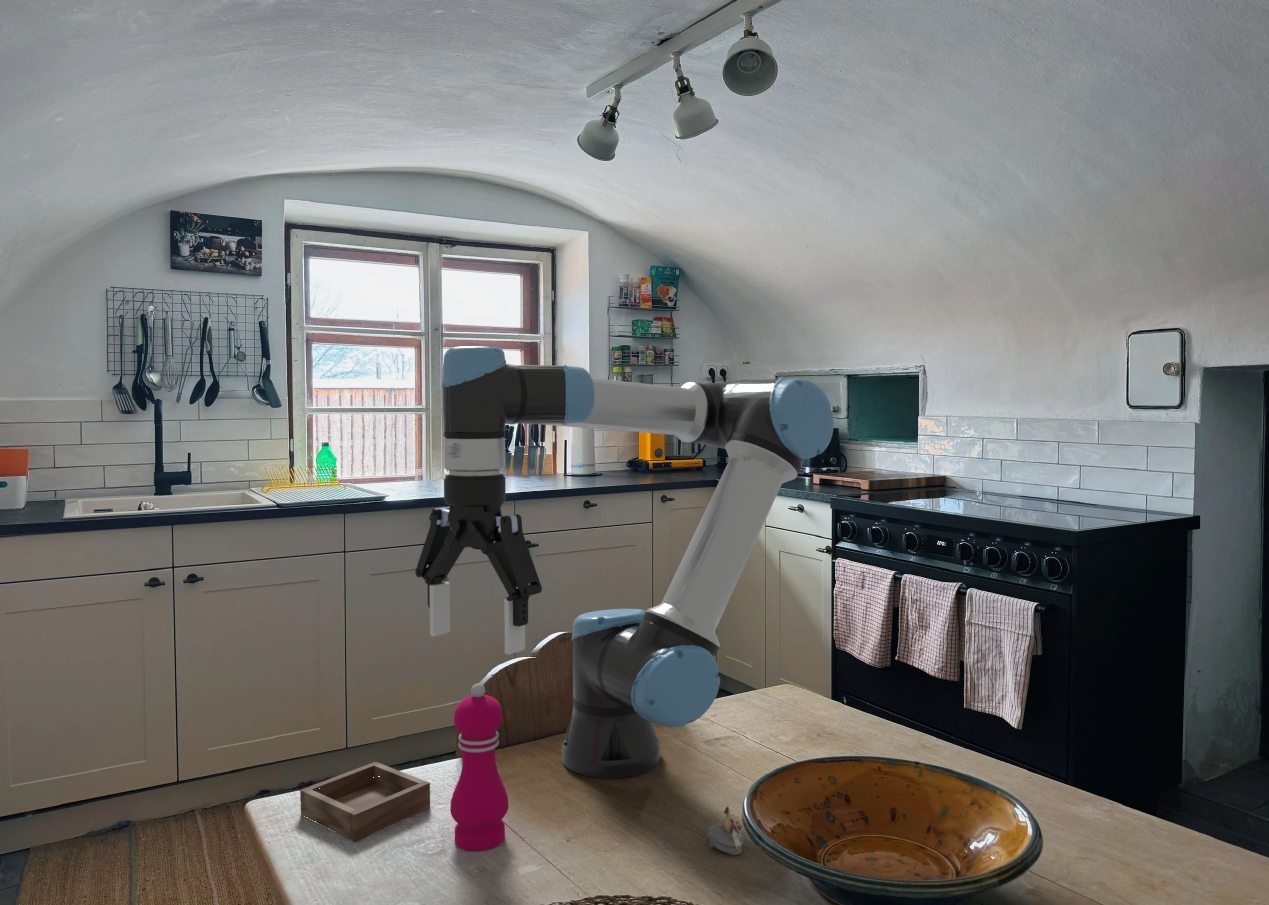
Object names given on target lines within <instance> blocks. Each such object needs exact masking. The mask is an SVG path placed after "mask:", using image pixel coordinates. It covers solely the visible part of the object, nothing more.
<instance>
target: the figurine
mask: <svg viewBox="0 0 1269 905" xmlns="http://www.w3.org/2000/svg"><path fill="white" fill-rule="evenodd" d="M723 813H724V815H725V818H724V820H723V822H718V823H715V824H712V825H710V826H709V827H707V833H706V837H705V838H706V839H707V840H708V841H709V843H708V844H709V847H710V848H711V849H713V848H715V849H717V850H718V851H722V852H723V853H726V854H728V855H731V856H737V855H740V854H742V852H743V851H742V850H743V849H742V847H743V846H744V843H745V840H744V836H743V835H742V831H741V829H742V825H741V823H740V820H739V816H738V815H737V816H736V817H735V815H734V814H731V810H730V807H729V806H726V807H725V809H724V812H723Z"/></svg>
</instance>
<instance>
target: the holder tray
mask: <svg viewBox="0 0 1269 905" xmlns="http://www.w3.org/2000/svg"><path fill="white" fill-rule="evenodd" d="M378 776H380V777H378ZM373 777H374V778H373ZM319 788H320V789H319ZM299 792H300V793H299V794H300V800H299V801H300V816H301V815H303V816H305V817H308V818H309V819H311V820H313V821H316V822H317V823H319V824H321V825H323V826H325V827H327V828H329V829H331V830H333V831H335V832H336V834H337V833H338V835H339V834H340V835H339V836H341V837H343V838H346V839H348V840H350V841H352V842H353V843H357V842H358V841H361V840H363V839H365V838H368V837H369V836H371V835H373V834H374V835H375V834H376V833H378V832H380V831H383V830H385V829H386V828H389V827H391V825H392V826H393V824H394V825H396V824H398V823H400V822H402V820H403V821H405V820H406V819H409V818H411V817H413V816H416V815H418V814H420V813H423V812H425V811H427V810H429V809H431V783H430V782H428V781H426V780H424V779H422V778H419V777H416V776H413V775H411V774H410V773H409V774H408V773H406V772H403V771H400V770H398V769H395V768H393V767H390V766H388V765H385V764H383V763H380V762H377V761H373V762H371V763H368V764H366V765H363V766H361V767H357V768H355V769H352V770H350V771H347V772H345V773H342V774H339V775H336V776H333V777H332V778H329V779H326V780H324V781H321V782H317V783H316V784H312V785H310V786H308V787H305V788H301V789H300V791H299ZM303 816H302V817H303ZM305 817H304V818H305ZM309 819H308V820H309ZM311 820H310V821H311ZM313 821H312V822H313ZM317 823H316V824H317ZM319 824H318V825H319ZM321 825H320V826H321ZM323 826H322V827H323ZM325 827H324V828H325ZM327 828H326V829H327ZM329 829H328V830H329ZM331 830H330V831H331ZM333 831H332V832H333ZM335 832H334V833H335Z"/></svg>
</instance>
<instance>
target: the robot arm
mask: <svg viewBox="0 0 1269 905" xmlns="http://www.w3.org/2000/svg"><path fill="white" fill-rule="evenodd" d="M441 380H442V381H441V388H442V410H443V411H442V412H443V418H442V419H443V469H444V470H445V471H448V474H446V475H445V477H443V503H445V504H446V505H447V507H438V508H437V507H436V508H433V509H432V510H431V512H430V526H429V528H428V532H427V535H426V538H425V541H424V544H423V546H422V549H421V550H422V551H421V553H420V556H419V560H418V562H417V566H416V568H415V571H414V572H415V576H416V578H422V579H423V580H424V583H425V584H426V585H427V607H428V609H429V636H431V637H437V636H441V635H446V634H449V633H451V593H450V592H451V588H450V585H451V584H450V582H447V581H448V580H450V578H449V577H448V575H449V573H451V570H452V569H453V567H454V566H455V564H456V562H457V560H459V558H460V555H461V554H462V552H463V551H464V549H465V548H466V549H467V548H471V549H472V550H480V551H481V553H482V554H484V555H486V556H487V558H488V560H489V562H490V564H491V566H492V567H493V569H494V572H495V573H496V574H497V576H498V578H499V580H500V582H501V584H502V585H503V587H504V589H505V591H506V593H507V594H508V596H507V597H506V598H505V599H504V603H503V604H504V606H503V607H504V610H503V611H504V613H503V614H504V616H503V617H504V654H505V655H513V654H515V653H520V652H522V651H525V650H526V625H527V624H528V623H529V598H530V597H531V596H534V595H537V594H540V593H542V591H543V587H542V584H541V581H540V579H539V575H538V572H537V568H536V566H535V564H534V560H533V558H532V555H531V553H530V550H529V547H528V544H527V541H526V538H525V535H524V533H523V520H522V516H521V515H520V514H519V513H517V514H516V513H515V514H509V515H503V514H502V509H501V507H502V506H503V504H504V503H505V502H506V498H507V497H506V496H507V495H506V488H507V487H506V476H505V475H504V473H501V472H502V471H504V470H505V469H506V465H507V464H506V462H507V461H506V424H507V425H516V424H518V425H519V424H527V425H542V426H543V425H546V426H558V427H569V428H580V429H581V428H582V429H592V430H593V429H594V430H595V429H596V430H606V431H608V430H609V431H620V432H621V431H622V432H632V433H633V432H634V433H647V434H656V435H657V434H660V435H669V436H670V435H671V436H676V438H677V439H678V440H680V441H681V442H684V443H693V444H700V445H701V444H702V445H705V446H710V447H713V448H714V447H715V448H719V449H722V450H723V449H725V451H726V453H727V456H728V463H727V464H726V467H725V469H724V470H723V473H722V474H721V477H720V480H719V481H718V483H717V485H716V487H715V489H714V492H713V493H712V496H711V497H710V501H709V503H708V504H707V506H706V508H705V510H704V513H703V514H702V517H701V519H700V520H699V522H698V523H699V524H698V526H697V527H696V530H695V532H694V534H693V536H692V538H691V540H690V542H689V544H688V546H687V549H686V551H685V552H684V555H683V557H682V559H681V562H680V563H679V566H678V568H677V570H676V572H675V573H674V576H673V578H672V580H671V582H670V585H669V587H668V589H667V590H666V593H665V595H664V597H663V599H662V601H661V603H660V604H658V605H656V606H653V607H650V608H647V609H646V610H644V609H641V608H613V609H603V610H602V609H601V610H594V611H589V612H585V613H582V614H580V615H578V616H577V617H575V619H574V621H573V623H572V632H571V633H572V634H571V642H572V698H573V699H572V700H573V704H572V705H573V706H572V713H571V717H570V719H569V723H568V726H567V729H566V733H565V736H564V739H563V742H562V747H561V760H562V764H563V765H564V766H565V767H566V768H567V769H568V770H569V771H572V772H573V773H577V774H578V775H583V776H586V777H591V778H592V777H593V778H599V779H618V778H619V779H620V778H621V779H622V778H628V777H633V776H637V775H641V774H644V773H647V772H649V771H651V770H653V769H654V768H655V767H657V765H658V764H659V763H660V760H661V745H660V741H659V739H658V737H657V734H656V730H655V727H654V724H657V725H659V726H662V727H667V728H680V727H681V728H682V727H685V726H686V725H688V724H690V723H693V722H696V721H697V720H699V719H700V718H701V717H702V716H703V715H705V713H706V712H708V710H709V709H710V707H711V706H712V705H713V703H714V702H715V699H716V697H717V695H718V692H719V688H720V684H721V677H720V676H719V672H720V668H719V665H718V662H717V660H716V659H715V658H716V656H717V653H718V652H719V650H720V647H721V644H720V641H719V639H718V636H717V628H718V626H719V623H720V621H721V619H722V616H723V614H724V612H725V610H726V608H727V605H728V603H729V601H730V599H731V596H732V594H733V592H734V590H735V588H736V586H737V584H738V582H739V579H740V577H741V574H742V572H743V571H744V569H745V566H746V564H747V561H748V560H749V558H750V556H751V553H752V551H753V548H754V546H755V543H756V542H757V540H758V537H759V536H760V533H761V530H762V528H763V526H764V525H765V521H766V520H767V518H768V515H769V513H770V511H771V510H772V509H771V508H772V507H773V505H774V502H775V500H776V498H777V495H778V493H779V491H780V489H781V487H782V484H784V483H787V482H790V481H793V480H795V479H796V478H797V476H798V474H799V472H800V470H801V469H802V466H803V464H804V461H805V460H808V459H811V458H814V457H816V456H817V455H821V454H823V452H825V451H826V449H827V447H828V446H829V444H830V442H831V440H832V438H833V435H834V434H833V432H834V427H835V426H834V424H835V422H834V414H833V412H832V408H831V402H830V400H829V399H828V395H827V394H826V393H825V392H824V390H822V388H821V387H820V386H819V385H817V384H816V383H814V382H812V381H811V380H809V379H804V378H793V377H789V376H786V377H781V378H777V379H775V378H773V379H771V378H770V379H741V380H731V381H722V382H710V383H709V382H708V383H707V382H706V383H702V382H701V383H700V382H692V381H690V382H686V383H684V384H683V385H681V386H680V387H678V386H669V385H660V384H651V383H640V382H631V381H624V380H623V381H622V380H616V379H615V380H613V379H606V378H605V379H604V378H595V377H592V376H591V374H590V373H589V371H588V370H586V369H585V368H584V367H581V366H572V365H566V364H561V365H550V364H548V365H547V364H546V365H545V364H541V365H537V364H534V365H533V364H527V365H526V364H523V365H522V364H521V365H520V364H517V365H516V364H512V363H507V360H506V355H505V352H504V350H503V349H502V348H500V347H491V346H454V347H451V348H449V349H447V350H446V352H445V353H444V355H443V364H442V377H441Z"/></svg>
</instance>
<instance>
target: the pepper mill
mask: <svg viewBox="0 0 1269 905" xmlns="http://www.w3.org/2000/svg"><path fill="white" fill-rule="evenodd" d="M470 693H471V695H469V696H466V697H464V698H463V699H462V700H461V701H460V702H459V703H458V704H457V706H456V708H455V710H454V714H453V719H454V726H455V728H456V729H457V731H458V732H459V733H460V734H459V735H458V737H457V738H458V741H459V742H458V748H459V749H460V750H461V754H462V764H461V765H462V766H461V770H460V775H459V778H458V781H457V783H456V785H455V787H454V789H453V793H452V795H451V796H452V797H451V799H450V807H449V808H450V815H451V817H452V819H453V820H454V821H455V822H456V824H455V826H454V843H455V845H456V846H457V847H459V848H460V849H462V850H464V851H470V852H481V851H482V852H484V851H488V850H491V849H494V848H497V847H498V846H499V845H501V844H502V843H503V842H504V840H505V837H506V830H505V829H506V825H505V821H504V820H503V818H505V817H506V814H507V813H508V811H509V799H508V798H509V797H508V794H507V793H508V792H507V789H506V787H505V785H504V782H503V779H502V778H501V776H500V774H499V770H498V768H497V764H496V761H497V760H496V748H498V747H499V744H500V741H499V736H500V734H499V732H498V731H497V730H498V729H499V728H500V726H501V725H502V723H503V709H502V706H501V704H500V702H499V701H498V700H497V699H496V698H495V697H493V696H490V695H487V694H485V693H486V687H485V686H484V685H483V684H482V683H478V682H477V683H475V684H473V685H472V686H471V687H470Z"/></svg>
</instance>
